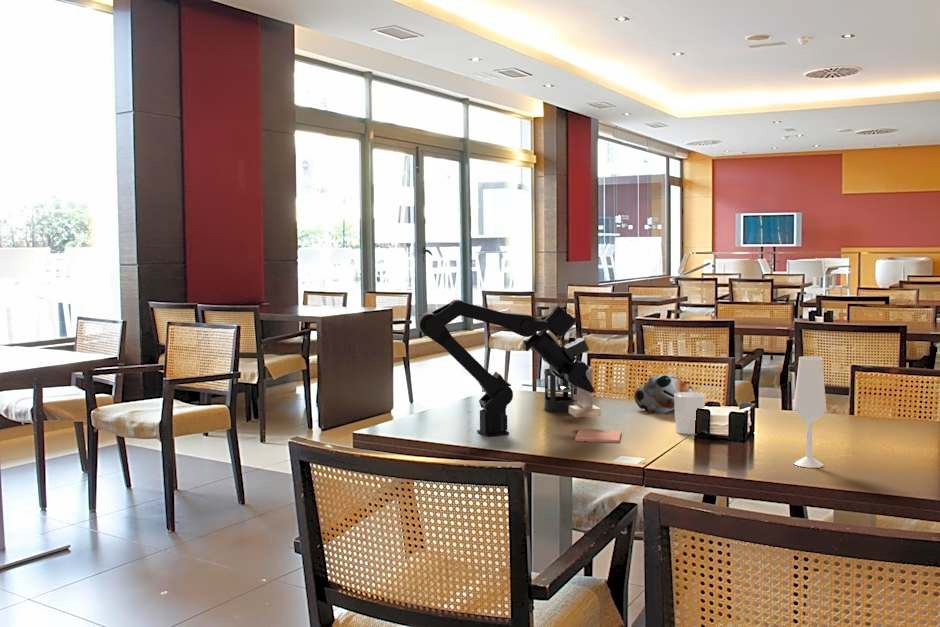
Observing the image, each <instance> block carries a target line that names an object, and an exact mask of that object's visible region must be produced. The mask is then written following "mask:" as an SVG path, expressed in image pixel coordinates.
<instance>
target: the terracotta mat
mask: <svg viewBox="0 0 940 627" xmlns="http://www.w3.org/2000/svg"><path fill="white" fill-rule="evenodd" d="M621 436H622V430H595V429H594V430H593V429H590V430H589V429H579V430H578V432H577V433H576V436H575V438H574V441H575V442H584V441H586V443H587V442H589V443H590V442H591V443H614V444H615V443H616V444H617V443H618V444H619V443H620V440H621Z"/></svg>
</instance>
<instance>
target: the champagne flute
mask: <svg viewBox="0 0 940 627" xmlns="http://www.w3.org/2000/svg"><path fill="white" fill-rule="evenodd" d="M796 374H797V375H796V382H795V383H796V384H795V390H794V391H795V392H794V398H793V399H794V400H793V409H794V411H795V412H796V414H797V415H798V416H799V417H800V418H801V419H802V420H804V422H806V435H805V437H806V439H805V440H806V441H805V445H806V446H805V447H806V448H805V456H804V457H802V458H800V459H798V460H797V461H795V463H794V462H793V463H794V464H795V465H798V466H802V467H803V466H804V467H820V466H822V465H824V464H823V463H822V462H820V461H818V460H817V459H816V458H814V456H813V422H815V421H817V420H818V419H819V418H821V417H822V416H823V414H824V413H825V412H826V410H827V401H826V390H825V377H824V376H825V375H824V366H823V357H820V356H805V355H804V356H799V357H798V366H797V372H796Z"/></svg>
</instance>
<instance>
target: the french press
mask: <svg viewBox="0 0 940 627" xmlns="http://www.w3.org/2000/svg"><path fill="white" fill-rule="evenodd" d="M566 335H567V333H566V334H565V335H564V336H566ZM556 339H557V341H558V344H560V343H561V342H560V341H561V339H562V337H559V336H558V337H557V338H556ZM560 345H561V344H560ZM543 371H544V372H543V374H544V407H543V410H544V411H545V412H548V413H549V412H550V413H569V406H575V403H577V399H575V386H574V385H572V384H570V386H569V382H567V381H564V380H562V384H561V379H560V378H558V384H557V382H556V379H557V378H556V377H558V376H559V375H560V374H558V373H557V374H558V375H557V376H555V375H553V374H552V373H551V372H550V371H549V368H545V369H544V370H543ZM556 384H557V385H556ZM556 393H557V394H559V393H561V394H562V395H557V394H556ZM569 393H570V396H569ZM549 394H550V396H549Z"/></svg>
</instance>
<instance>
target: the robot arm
mask: <svg viewBox="0 0 940 627" xmlns="http://www.w3.org/2000/svg"><path fill="white" fill-rule="evenodd" d="M460 316H461V317H465V318H469V319H473V320H475V321H479V322H484V323H488V324H492V325H494V326H500V327H502V328H503V329H506V330H508V331H510V332H513V333H514V334H516V335H519V336H521V337H523V338H527V339H523V340H522V350H523V351H525V352H528V351H530V349H532V350H533V351H535V352H536V353H537V354H538V355H539V357H541V358H542V361H543V362H545V363H547V364H548V365H549V366H548V367H549V368H548V369H549V371H550V372H551V373H552V374H553V375H555V376H556V377H557V379H559V378H560V380H562V381H563V380H564V381H567V382H568V384H569V385H571V384H572V385H574V387H576V388H577V387H579V388H581V389H584V390H586V391H588V392H591V393H593V394H594V392H595V388H594V387H593V386H594V385H593V386H592V385H591V383H590V381H589V380H588V378H587V376H586V371H587V370H588V369H589V367H590V366H589V365H587V364H586V362H584V361H581V360H577V356H579V355H581V354H583V353H588V351H589V350H590V348H589V346H588V343H587V342H586V339H585V338H583V337H577V338H575V337H574V336H569V337H567V338H566V343H565V344H564V345H561V344H559V342H558V341H556V340H555V339H558V338H557V337H558V336H559V337H561V338H563V337H564V336H566V335H567V333H568V332H569V331H570V330H571V328H573V326H574V325H576V323H577V320H576V319H575V318H574V316H572V315H571V314H570V313H568V312H567V311H565V310H564V309H563V308H561V307H560V305H555V307H554V308H553V309H552V311H551V312H550V313H549V314H548V315H547V316H546V317H545V319H542V318H538V319H537V318H535V317H534V316H532V315H529V314H526V313H518V312H506V311H505V312H501V311H499V310H494V309H491V308H487V307H483V306H480V305H476V304H473V303H469V302H465V301H463V300H461V299H453V300H452V301H450V302H448V303H447V304H445V305H444V306H442V307H439V308H437V309H435V310H433V311H432V312H430V311H427V312H424V313H422V314H420V315H419V317H418V318H417V321H416V326H417V329H418V330H419V331H420V332H421V333H423V334H424V335H425V336H427V337H428V338H429V339H431V340H432V341H434V342H435V343H437V344H438V345H439V346H441V347H442V348H443V349H444V350H445V352H447V353H448V354H449V355H450V356H451V357H452V358H454V360H455V361H456V362H457V363H458V364H460V365H461V367H463V368H464V369H465V370H466V371H467V372H468V373H469V375H470V376H472V377H473V378H474V379H475V380H476V381H477V383H478V385H479V386H480V387H481V389H482V390H483V392H484V394H483V395H482V397H481V398H480V399H479V400H478V403H479V406H480V408H482V409H479V429H478V430H476V432H477V433H478V434H481V435H483V436H487V437H494V436H501V435H508V434H510V431H508V414H507V406H508V405H509V404H510V403H511V402H512V401H513V399H514V398H513V397H514V392H513V389H512V388H511V386H512V384H511V383H509V382H508V381H506V380H505V379H504V378H503V376H502V375H501V374H500V373H498V372H497V371H495V372H494V373H493V374H491V373H490V372H489V371H488V370H486V368H485V367H484V366H483V365H481V363H480V362H478V360H476V358H474V357H473V356H472V354H470V353H469V352H468V350H466V349H465V348H464V346H462V345H461V344H460V343H459V342H458V341H457V340H456V339H455V338H454V337H453V335H452V334H451V332H450V331H449V330H448V328H447V327H446V325H448V324H449V323H450V324H451V322H452V321H453V320H455V319H456V318H458V317H460ZM536 332H537V333H536ZM549 333H550V334H549ZM565 334H566V335H565ZM551 335H552V336H553V337H554V338H555V339H554V338H553V337H552V336H551ZM588 366H589V367H588ZM557 373H558V374H560V375H559V376H557V375H558V374H557Z"/></svg>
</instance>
